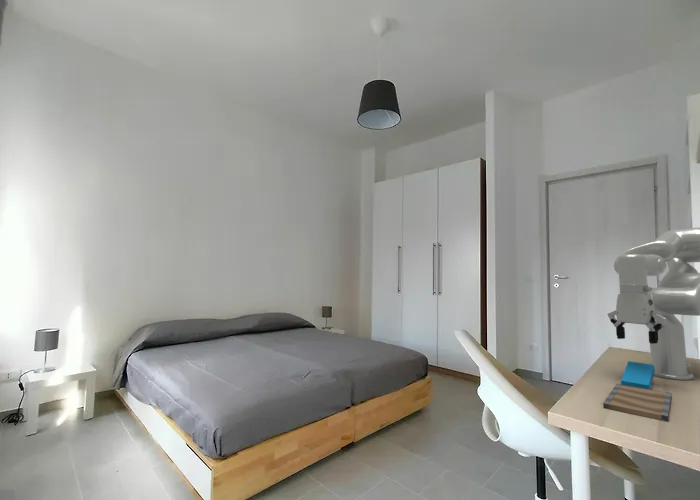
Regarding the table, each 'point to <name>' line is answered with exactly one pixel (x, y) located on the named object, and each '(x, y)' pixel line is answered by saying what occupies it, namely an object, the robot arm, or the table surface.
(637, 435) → the table surface
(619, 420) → the table surface
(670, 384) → the table surface
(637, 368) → the lever
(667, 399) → the ribbed board
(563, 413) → the table surface
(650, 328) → the robot arm
